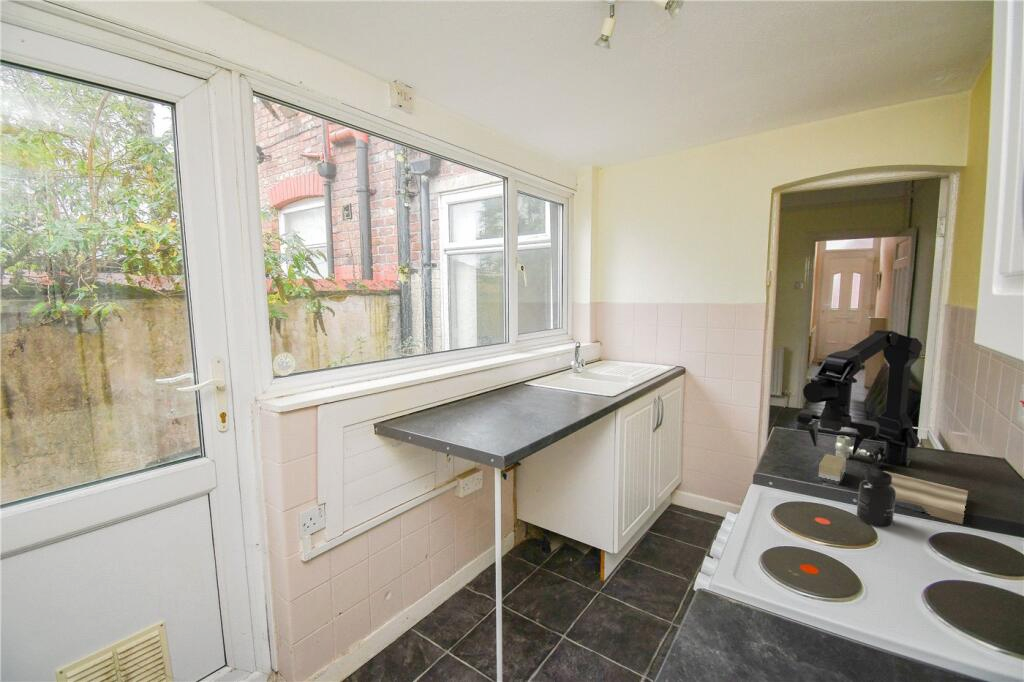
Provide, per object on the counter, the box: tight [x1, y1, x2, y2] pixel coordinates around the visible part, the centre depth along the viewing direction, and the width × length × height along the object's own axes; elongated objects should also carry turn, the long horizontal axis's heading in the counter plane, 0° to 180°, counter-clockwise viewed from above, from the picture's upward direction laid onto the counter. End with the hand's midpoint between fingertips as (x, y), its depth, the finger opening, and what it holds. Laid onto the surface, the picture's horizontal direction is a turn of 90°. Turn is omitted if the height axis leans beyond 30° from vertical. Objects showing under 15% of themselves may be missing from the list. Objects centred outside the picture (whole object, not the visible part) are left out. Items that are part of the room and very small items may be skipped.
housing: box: [817, 453, 847, 481], centre depth 130 cm, size 10×5×5 cm, turn 136°
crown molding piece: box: [882, 470, 969, 525], centre depth 116 cm, size 16×17×2 cm
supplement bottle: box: [856, 469, 896, 528], centre depth 106 cm, size 7×7×12 cm
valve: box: [834, 435, 885, 468], centre depth 140 cm, size 7×7×12 cm
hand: (834, 450), depth 129 cm, fingers open, 9 cm apart
